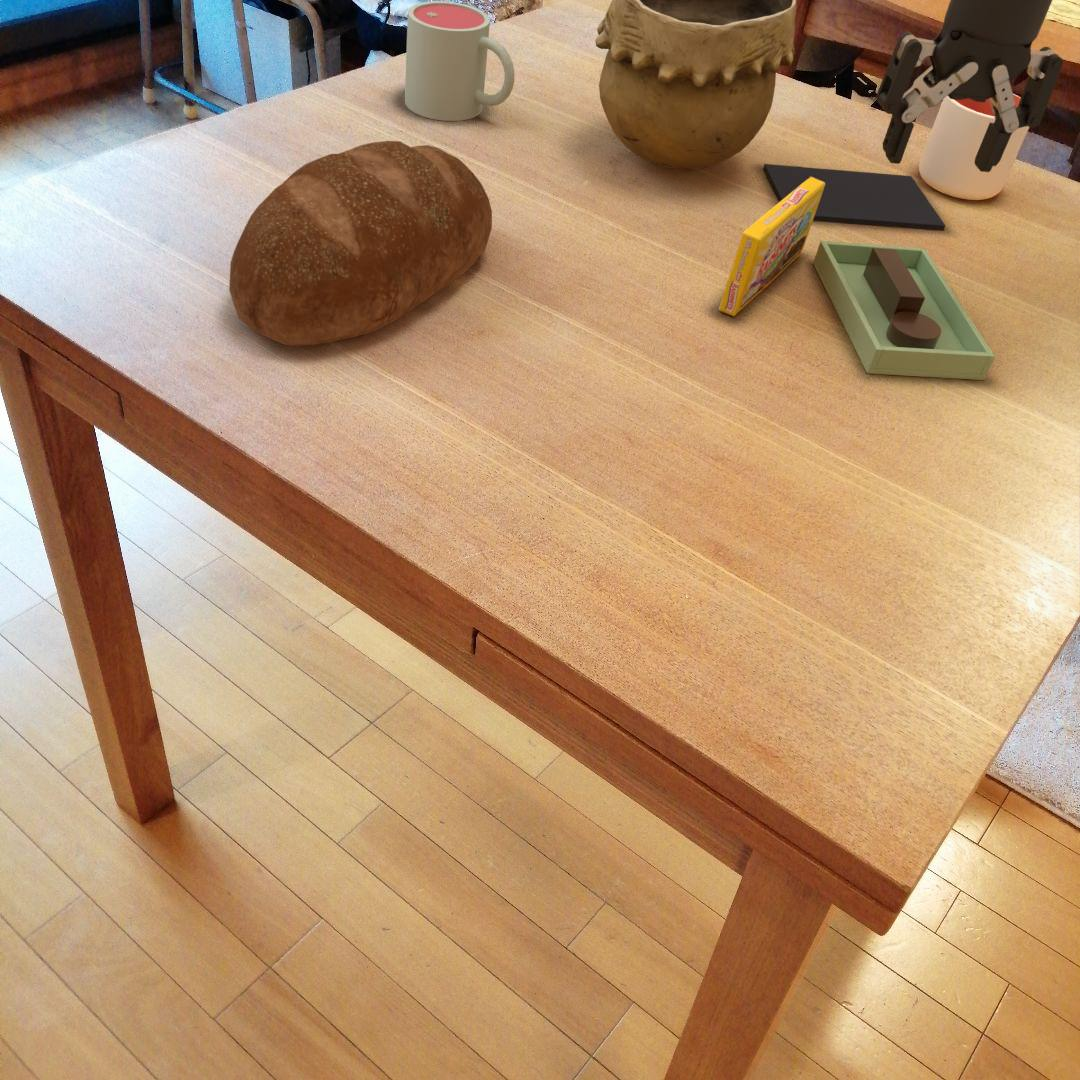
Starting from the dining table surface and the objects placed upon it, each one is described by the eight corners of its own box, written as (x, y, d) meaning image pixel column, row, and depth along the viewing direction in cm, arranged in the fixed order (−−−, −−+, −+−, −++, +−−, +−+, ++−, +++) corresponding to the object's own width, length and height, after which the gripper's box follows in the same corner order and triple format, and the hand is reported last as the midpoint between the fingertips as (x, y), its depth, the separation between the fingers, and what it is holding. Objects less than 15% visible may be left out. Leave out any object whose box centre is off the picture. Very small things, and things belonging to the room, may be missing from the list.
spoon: (895, 276, 110) (906, 249, 108) (942, 355, 100) (954, 327, 98) (852, 273, 109) (862, 246, 107) (894, 352, 100) (906, 324, 97)
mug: (388, 103, 127) (391, 13, 120) (435, 82, 133) (439, -5, 127) (486, 141, 123) (494, 50, 116) (529, 117, 129) (539, 29, 122)
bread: (187, 312, 92) (172, 185, 84) (397, 195, 111) (401, 83, 103) (334, 384, 87) (332, 257, 79) (526, 249, 106) (540, 136, 99)
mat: (909, 180, 129) (911, 175, 128) (943, 230, 120) (945, 225, 120) (762, 168, 126) (764, 163, 126) (787, 218, 118) (788, 213, 117)
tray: (916, 270, 113) (925, 248, 111) (984, 380, 99) (995, 356, 97) (812, 263, 111) (820, 240, 109) (867, 373, 97) (876, 349, 96)
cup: (1016, 196, 129) (1053, 112, 122) (962, 210, 125) (998, 125, 118) (951, 160, 135) (983, 78, 128) (898, 173, 130) (928, 89, 123)
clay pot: (723, 224, 115) (773, 27, 101) (547, 162, 121) (572, -32, 107) (786, 159, 129) (837, -22, 116) (625, 106, 135) (656, -72, 121)
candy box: (737, 320, 101) (760, 239, 96) (716, 311, 102) (738, 230, 96) (803, 256, 112) (827, 180, 106) (784, 249, 113) (807, 173, 107)
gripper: (944, -26, 83) (873, 176, 94) (1116, -6, 85) (1027, 190, 96) (913, -56, 88) (849, 139, 99) (1075, -37, 90) (995, 152, 101)
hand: (937, 164), depth 97 cm, fingers open, 8 cm apart
